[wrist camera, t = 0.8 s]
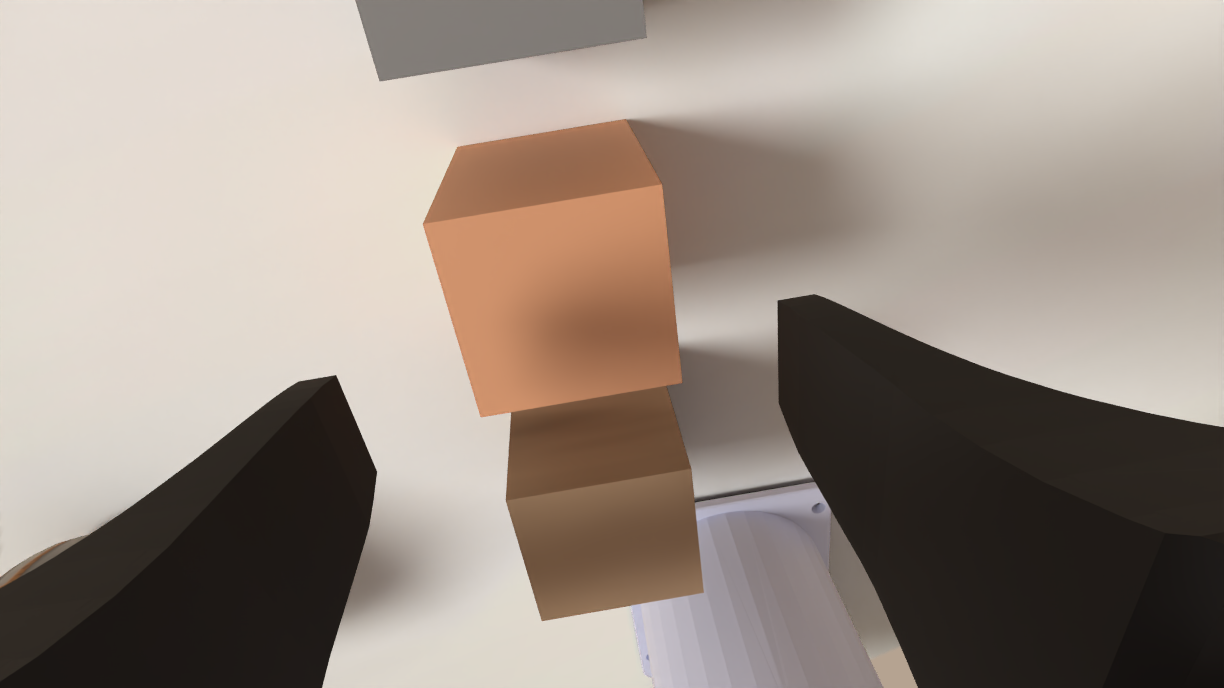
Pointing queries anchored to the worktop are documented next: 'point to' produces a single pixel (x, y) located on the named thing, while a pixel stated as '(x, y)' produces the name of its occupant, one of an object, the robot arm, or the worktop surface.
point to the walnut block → (603, 503)
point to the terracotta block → (556, 267)
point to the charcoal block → (488, 31)
